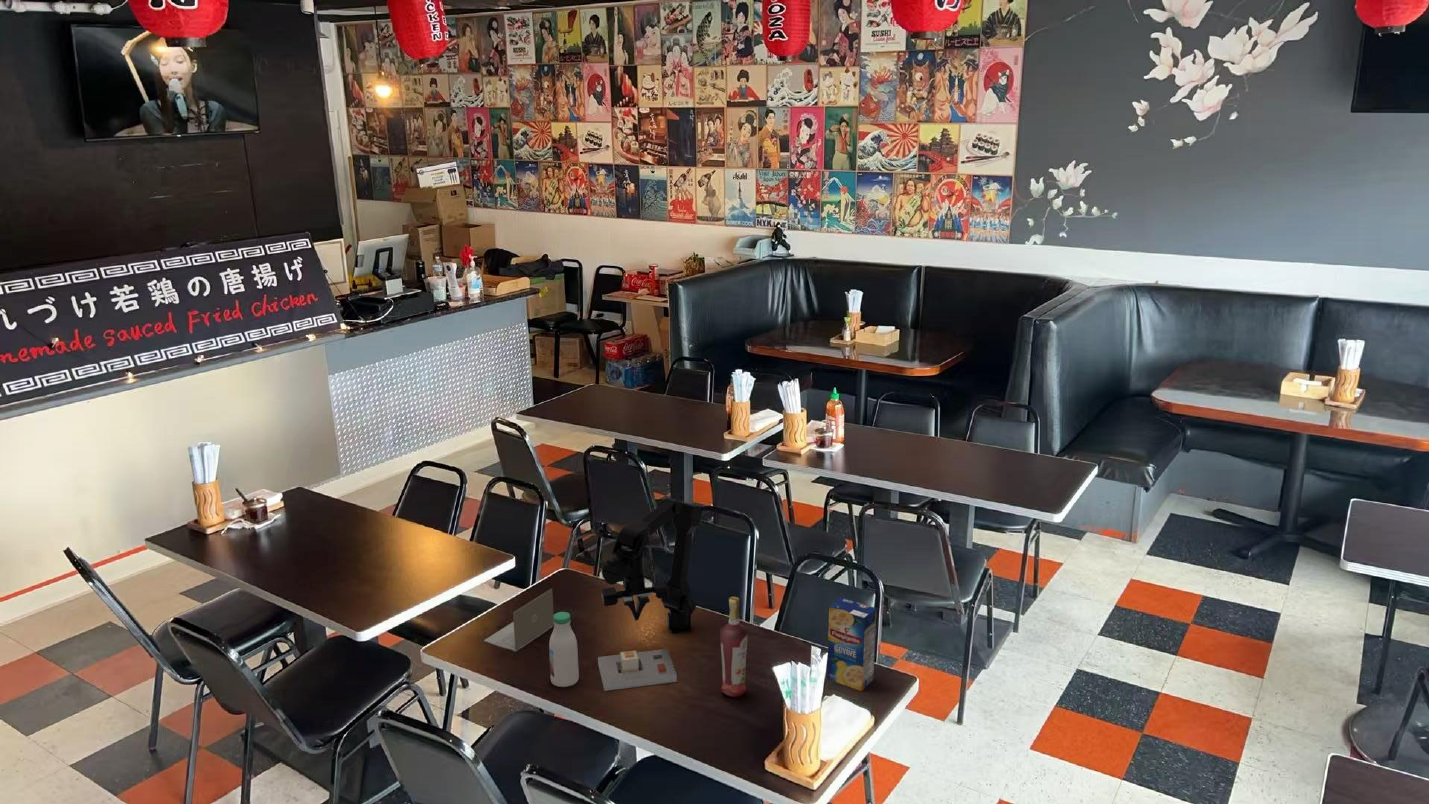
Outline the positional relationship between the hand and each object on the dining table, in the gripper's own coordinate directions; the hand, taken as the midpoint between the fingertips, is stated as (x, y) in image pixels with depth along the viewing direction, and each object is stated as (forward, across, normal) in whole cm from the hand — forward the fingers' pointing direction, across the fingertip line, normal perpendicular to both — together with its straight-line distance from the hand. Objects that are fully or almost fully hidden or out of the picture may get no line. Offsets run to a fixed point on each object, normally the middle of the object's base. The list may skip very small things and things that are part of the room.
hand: (636, 619), depth 291 cm
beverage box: (+12, -54, +28) cm, 63 cm away
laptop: (+12, +32, -22) cm, 41 cm away
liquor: (+12, -22, +26) cm, 36 cm away
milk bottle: (+11, +22, +8) cm, 26 cm away
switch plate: (+11, +2, +10) cm, 15 cm away
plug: (+11, +4, +10) cm, 15 cm away
